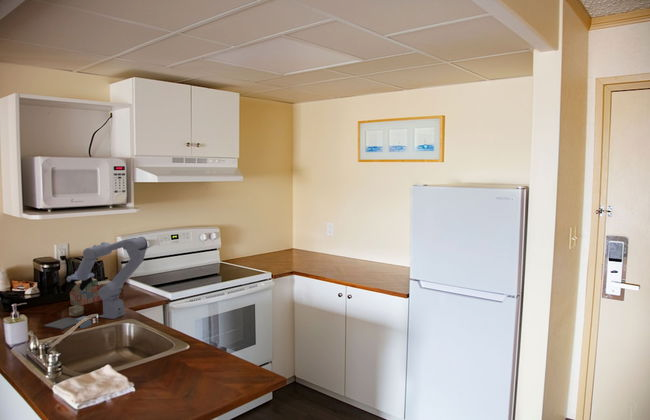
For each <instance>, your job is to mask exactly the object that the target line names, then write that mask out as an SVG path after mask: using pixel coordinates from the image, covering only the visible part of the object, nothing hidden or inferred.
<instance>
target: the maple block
mask: <svg viewBox="0 0 650 420" xmlns="http://www.w3.org/2000/svg"><path fill="white" fill-rule="evenodd" d="M84 311H85V310H84V305H81V306H79V305H76V306H73V305H72V306H70V307H68V313H69V314H68V315H69V316H70V317H71V316H72V317H78V316H81V315H84V314H85V312H84Z"/></svg>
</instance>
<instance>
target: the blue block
mask: <svg viewBox="0 0 650 420" xmlns="http://www.w3.org/2000/svg"><path fill="white" fill-rule="evenodd" d="M85 317H87V316H86V315H83V316H80V317H77V318H75V320H76V324H77V323H78V322H79V321H81V320H82V319H83V318H85ZM91 326H92V318H91V319H90V320H87V321H86V322H84V323H83V324H81V325H80V328H79V329H85V328H88V327H91Z"/></svg>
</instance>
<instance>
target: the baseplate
mask: <svg viewBox="0 0 650 420" xmlns="http://www.w3.org/2000/svg"><path fill="white" fill-rule="evenodd" d="M75 319H76V318H74V317H65V318H61V319H58V320H55V321H51V322H50V323H47V324H44V326H43V327H45V328H51V329H55V330H56V329H57V330H66V329H69V328H71V327H74V326H76V325H75V324H76V320H75Z"/></svg>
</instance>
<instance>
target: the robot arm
mask: <svg viewBox="0 0 650 420" xmlns="http://www.w3.org/2000/svg"><path fill="white" fill-rule="evenodd" d="M148 248H149V244H148V240H147V238H145V237H144V236H138V237H131V238H125V239H121V240H118V241H116V242H114V243H108V242H100V244H97V245H96V244H95V245H93V246H91V247H86V248H85V249H84V250H83V252H82V256H83V257H82V259H81V262H80V263H79V265H78V268H77V270H75V271H74V273H73V274H71V275H68V276H66V278H65V281H66V287H65V289H66V291H65V292H67V293H68V294H70V292H71V290H72V289H73V287H74V286H75V285H76V283H75V282H76V281H80V280H82V282H81V284H80V287H79V289H81V290H84V288H85V287H86V286H87V285H88V284H89V283H91V282H92V281H93V279H95V275H96V274H95V273H93V272H92V269H93V267H94V265H95V263H96V261H97V259H99V258H101V257H104V256H108V255H110V254H112V251H114V250H118V249H123V250H125V251H126V253H127V255H128V257H129V260H128V261H127V262H126V263H125V265H124V266H122V268H121V269H120V270H119V272H118V273H117V274H116V275H115V276H114V278H112V280H110V281H111V282H109V283H108V284H106V285H105V286H104V287H102V288H100V289H99V296H100V298H101V299H102V300H101V301H102V314H101V315H99V316H98V317H99V318H103V319H104V318H105V319H111V320H115V319H117V318H120V317H122V316H125V315H126V314H127V313H125V302H124V300H123V299H121V298H120V294H121V293H122V289H123V287H124V284H125V282H126V281H127V280H128V279H129V278H130V277H131V276H132V275H133V273H134V272H135V271H136V270H137V269H138V268H139V267H140V265H141V264H142V263H143V262H144V259H145V254H146V252H147V249H148ZM92 278H93V279H92Z"/></svg>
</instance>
